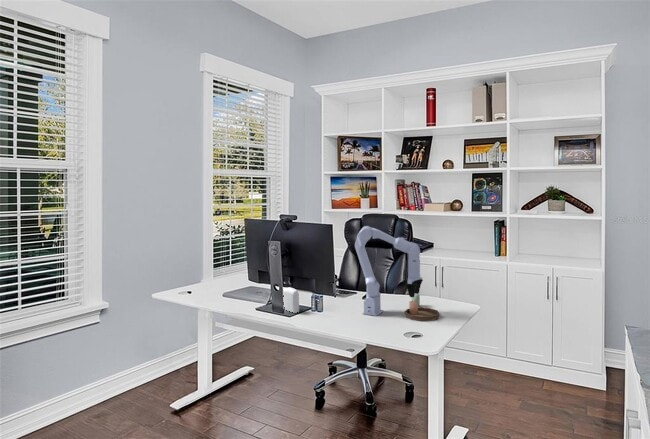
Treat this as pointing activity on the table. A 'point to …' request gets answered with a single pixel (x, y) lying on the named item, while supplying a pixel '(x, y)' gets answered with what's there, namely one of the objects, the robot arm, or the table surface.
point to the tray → (423, 314)
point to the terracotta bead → (413, 307)
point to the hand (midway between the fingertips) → (414, 295)
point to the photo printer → (291, 299)
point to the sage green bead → (416, 299)
